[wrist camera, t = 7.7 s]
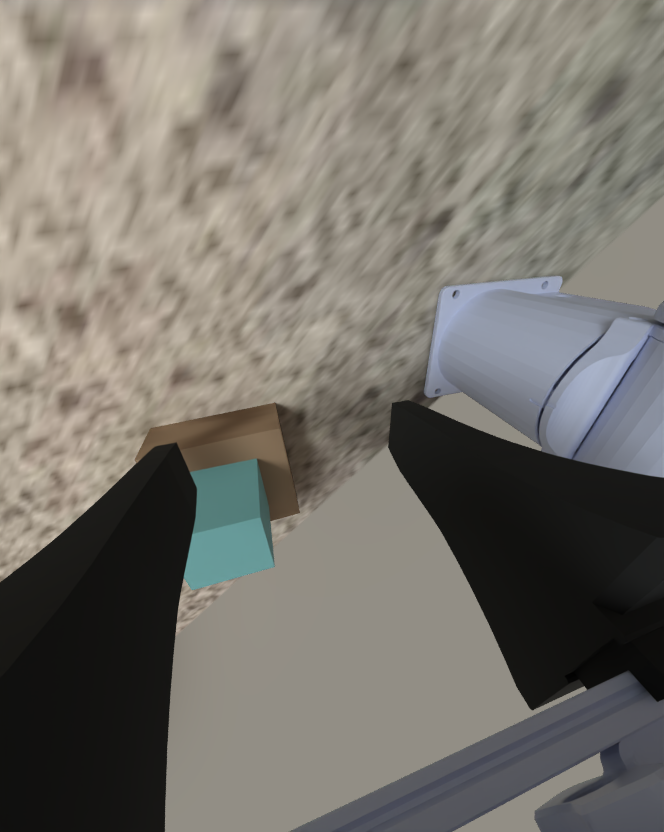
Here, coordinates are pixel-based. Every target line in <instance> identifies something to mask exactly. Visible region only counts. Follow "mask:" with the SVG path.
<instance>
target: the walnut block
mask: <svg viewBox="0 0 664 832" xmlns="http://www.w3.org/2000/svg"><path fill="white" fill-rule="evenodd" d="M176 442H177V444H178V447H179V449H180V451H181V453H182V456H183V458H184V460H185V462H186V465H187V467H188V469H189V471H190V472H193V471H198V470H202V469H207V468H212V467H217V466H222V465H227V464H232V463H237V462H242V461H247V460H252V459H257V461H258V465H259V469H260V473H261V477H262V481H263V485H264V489H265V493H266V497H267V500H268V504H269V512H270V521H273V520H276V519H280V518H283V517H287V516H291V515H294V514H298V513H300V511H299V506H298V501H297V496H296V491H295V487H294V482H293V477H292V473H291V469H290V465H289V460H288V456H287V452H286V447H285V443H284V439H283V434H282V430H281V426H280V421H279V417H278V413H277V409H276V404H275V403H272V404H267V405H262V406H257V407H252V408H247V409H242V410H238V411H233V412H228V413H223V414H218V415H213V416H208V417H204V418H199V419H194V420H189V421H184V422H179V423H174V424H169V425H165V426H160V427H155V428H150V430H149V432H148V434H147V436H146V438H145V440H144V442H143V444H142V446H141V448H140V450H139V452H138V454H137V456H136V458H135V461H136V463H137V462H138V461H140V460H141V459H142V458H143V457H144V456H145V455H146V454H147V453H148V452H149V451H150V450H151V449H153V448H154V447H155V446H159V445H165V444H170V443H176Z"/></svg>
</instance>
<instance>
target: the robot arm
mask: <svg viewBox="0 0 664 832" xmlns="http://www.w3.org/2000/svg"><path fill="white" fill-rule="evenodd" d="M542 284H543V285H542ZM561 284H562V277H561V276H545V277H534V278H524V279H514V280H503V281H493V282H482V283H472V284H461V285H451V286H445V287H444V288H442V289H441V291H440V293H439V298H438V304H437V311H436V317H435V324H434V330H433V336H432V343H431V349H430V355H429V362H428V368H427V375H426V381H425V387H424V394H425V396H427V397H428V398H432V397H437V396H443V395H448V394H453V393H459V392H463V393H465V394H466V395H468V396H469V397H471V398H472V399H474V400H475V401H476V402H478V403H479V404H481V405H482V406H484V407H485V408H487V409H488V410H489V411H491V412H492V413H494V414H495V415H497V416H498V417H500V418H501V419H502V420H504V421H505V422H507V423H508V424H510V425H511V426H513V427H514V428H515V429H517V430H518V431H520V432H521V433H523V434H524V435H526V436H527V437H528V438H530V439H531V440H533V441H534V442H536V443H537V444H539V445H540V446H541V447H542V450H541V451H538V450H535V449H532V448H529V447H525V446H522V445H519V444H516V443H513V442H510V441H507V440H504V439H501V438H498V437H496V436H493V435H490V434H488V433H485V432H483V431H480V430H477V429H475V428H473V427H470V426H468V425H465V424H463V423H460V422H458V421H456V420H454V419H451V418H449V417H447V416H445V415H442V414H440V413H438V412H435V411H433V410H431V409H429V408H426V407H424V406H422V405H419V404H417V403H414V402H411V401H408V400H407V401H401V402H396V403H392V411H391V423H390V434H389V445H388V448H389V450H390V452H391V454H392V456H393V458H394V460H395V462H396V464H397V466H398V468H399V470H400V472H401V473H402V474H403V476H404V478H405V479H406V480H407V482H408V483H409V485H410V486H411V488H412V489H413V491H414V492H415V494H416V495H417V496H418V498H419V499H420V501H421V502H422V504H423V505H424V507H425V508H426V510H427V511H428V512H429V514H430V515H431V517H432V518H433V520H434V521H435V523H436V524H437V526H438V528H439V529H440V531H441V532H442V534H443V536H444V537H445V540H446V541H447V543H448V545H449V547H450V549H451V550H452V552H453V554H454V556H455V557H456V559H457V561H458V563H459V565H460V567H461V569H462V571H463V573H464V575H465V577H466V579H467V581H468V582H469V584H470V586H471V588H472V590H473V592H474V594H475V596H476V599H477V601H478V603H479V605H480V607H481V609H482V611H483V613H484V615H485V617H486V619H487V621H488V623H489V625H490V628H491V630H492V632H493V634H494V636H495V639H496V641H497V643H498V645H499V648H500V650H501V652H502V654H503V656H504V658H505V661H506V663H507V665H508V668H509V670H510V672H511V675H512V677H513V679H514V682H515V684H516V686H517V688H518V690H519V691H520V693H521V695H522V696H523V698H524V699H525V701H526V703H527V704H528V706H529V708H530V709H531V710H534V709H536V708H538V707H540V706H543V705H545V704H547V703H549V702H551V701H553V700H555V699H557V698H560V697H562V696H564V695H566V694H568V693H570V692H572V691H574V690H577V689H579V688H581V687H583V686H585V687H586V689H587V690H586V691H585V692H582V693H580V694H578V695H576V696H574V697H572V698H569V699H567V700H565V701H563V702H561V703H559V704H557V705H555V706H553V707H551V708H548V709H546V710H544V711H542V712H540V713H538V714H536V715H534V716H532V717H530V718H527V719H525V720H523V721H521V722H519V723H517V724H515V725H513V726H510V727H508V728H506V729H504V730H502V731H500V732H498V733H496V734H494V735H492V736H489V737H487V738H485V739H483V740H481V741H479V742H477V743H475V744H473V745H470V746H468V747H466V748H464V749H462V750H460V751H458V752H456V753H454V754H452V755H449V756H447V757H445V758H443V759H441V760H439V761H437V762H435V763H433V764H431V765H428V766H426V767H424V768H422V769H420V770H418V771H416V772H414V773H411V774H410V775H407V776H405V777H403V778H401V779H399V780H397V781H395V782H393V783H390V784H388V785H386V786H384V787H382V788H380V789H378V790H376V791H374V792H372V793H369V794H367V795H365V796H363V797H361V798H359V799H357V800H355V801H353V802H350V803H348V804H346V805H344V806H342V807H340V808H338V809H336V810H334V811H331V812H329V813H327V814H325V815H323V816H321V817H319V818H317V819H315V820H313V821H311V822H308V823H306V824H304V825H302V826H300V827H298V828H296V829H294V830H291V831H289V832H452V831H454V830H456V829H458V828H460V827H462V826H464V825H465V824H467V823H469V822H471V821H473V820H475V819H477V818H479V817H480V816H482V815H484V814H486V813H488V812H490V811H492V810H493V809H495V808H497V807H499V806H501V805H503V804H505V803H506V802H508V801H510V800H512V799H514V798H516V797H518V796H519V795H521V794H523V793H525V792H527V791H529V790H531V789H532V788H534V787H536V786H538V785H540V784H541V783H544V782H545V781H547V780H549V779H551V778H553V777H555V776H557V775H559V774H560V773H562V772H564V771H566V770H568V769H570V768H572V767H573V766H575V765H577V764H579V763H581V762H583V761H585V760H586V759H588V758H590V757H592V756H594V755H596V754H597V753H599V752H600V759H601V763H602V766H603V770H604V773H603V775H602V776H600V777H596V778H593V779H590V780H588V781H585V782H582V783H579V784H577V785H574V786H572V787H570V788H568V789H566V790H564V791H562V792H561V793H559V794H558V795H556V796H555V797H553V798H552V799H550V800H549V801H548V802H547V803H545V804H544V805H542V806H541V807H540V808H538V809H537V810H535V821H536V823H537V825H538V827H539V829H540V831H541V832H664V301H663V302H662V303H661V304H660V305H659V307H658V309H657V310H655V309H653V308H649V307H645V306H639V305H633V304H627V303H621V302H614V301H608V300H602V299H596V298H590V297H584V296H578V295H572V294H566V293H560V292H559V290H560V287H561ZM454 291H456V294H455V296H454V297H452V294H453V292H454ZM436 389H438V390H437V391H436V392H435V390H436ZM196 505H197V487H196V485H195V483H194V480H193V478H192V476H191V474H190V471H189V469H188V467H187V465H186V462H185V460H184V458H183V456H182V453H181V451H180V449H179V447H178V444H177V442H176V443H170V444H165V445H159V446H155V447H154V448H153V449H151V450H150V451H149V452H148V453H147V454H146V455H145V456H144V457H143V458H142V459H141V460H140V461H138V462H137V463H136V464H135V465H134V466H133V467H132V468H131V469H130V470H129V471H128V472H127V473H126V474H125V475H124V476H123V477H122V478H121V479H120V480H119V481H118V482H117V483H116V484H115V485H114V486H113V487H112V488H111V489H110V490H109V491H108V492H107V493H106V494H104V495H103V496H102V497H101V498H100V499H99V500H98V501H97V502H96V503H95V504H94V505H93V506H91V507H90V508H89V509H88V510H87V511H86V512H85V513H84V514H83V515H81V516H80V517H79V518H78V519H77V520H76V521H75V522H74V523H72V524H71V525H70V526H69V527H68V528H67V529H66V530H65V531H64V532H62V533H61V534H60V535H59V536H58V537H57V538H55V539H54V540H53V541H52V542H51V543H49V544H48V545H47V546H46V547H45V548H43V549H42V550H41V551H40V552H38V553H37V554H36V555H35V556H33V557H32V558H31V559H30V560H28V561H27V562H26V563H25V564H23V565H22V566H21V567H19V568H18V569H17V570H16V571H14V572H13V573H12V574H11V575H9V576H8V577H7V578H5V579H4V580H3V581H1V582H0V832H165V797H166V796H165V795H166V767H167V742H168V724H169V706H170V691H171V679H172V665H173V654H174V643H175V633H176V623H177V613H178V606H179V600H180V593H181V588H182V583H183V578H184V573H185V569H186V564H187V559H188V554H189V549H190V544H191V539H192V534H193V529H194V524H195V518H196Z"/></svg>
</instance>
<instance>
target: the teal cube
mask: <svg viewBox="0 0 664 832" xmlns="http://www.w3.org/2000/svg"><path fill="white" fill-rule="evenodd" d="M190 474H191V476H192V478H193V480H194V483H195V485H196V487H197V505H196V518H195V524H194V529H193V534H192V539H191V544H190V549H189V554H188V559H187V564H186V569H185V573H184V579H185V580H186V582H187V583H188V585H189V586H190V588H191V589H192V590H195V589H198V588H202V587H205V586H209V585H212V584H216V583H219V582H223V581H226V580H230V579H234V578H237V577H241V576H244V575H248V574H251V573H255V572H258V571H262V570H265V569H269V568H273V567H275V566H274V555H273V544H272V533H271V523H270V512H269V504H268V500H267V497H266V493H265V489H264V485H263V481H262V477H261V473H260V469H259V465H258V461H257V459H252V460H247V461H242V462H237V463H232V464H227V465H222V466H217V467H212V468H207V469H202V470H198V471H193V472H190Z"/></svg>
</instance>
